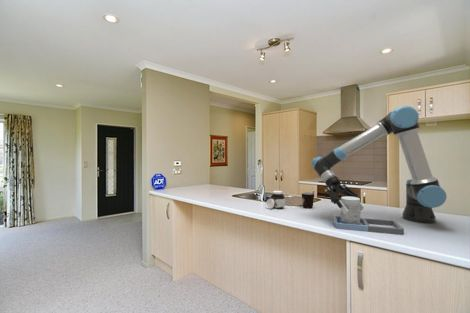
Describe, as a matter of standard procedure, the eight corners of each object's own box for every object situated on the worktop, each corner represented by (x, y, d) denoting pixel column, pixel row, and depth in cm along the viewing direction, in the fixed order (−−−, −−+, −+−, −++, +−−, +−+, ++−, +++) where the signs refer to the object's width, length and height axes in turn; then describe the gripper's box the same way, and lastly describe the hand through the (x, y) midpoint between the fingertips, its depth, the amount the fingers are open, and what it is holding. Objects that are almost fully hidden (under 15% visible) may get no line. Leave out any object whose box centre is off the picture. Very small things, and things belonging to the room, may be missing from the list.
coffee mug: (314, 209, 164) (315, 194, 164) (301, 208, 166) (301, 194, 165) (312, 205, 175) (312, 191, 175) (300, 205, 177) (300, 191, 177)
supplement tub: (344, 221, 134) (344, 195, 134) (362, 225, 128) (362, 197, 127) (337, 225, 127) (337, 198, 127) (357, 229, 121) (357, 200, 120)
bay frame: (395, 225, 127) (395, 220, 127) (404, 234, 112) (404, 229, 112) (333, 219, 138) (333, 215, 138) (334, 228, 123) (334, 223, 123)
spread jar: (286, 207, 169) (286, 191, 169) (280, 211, 159) (280, 193, 159) (270, 205, 175) (270, 189, 175) (264, 208, 166) (264, 192, 165)
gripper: (340, 182, 147) (363, 211, 134) (311, 185, 134) (334, 218, 121) (348, 174, 142) (373, 204, 129) (319, 176, 129) (343, 209, 117)
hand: (354, 210), depth 125 cm, fingers open, 13 cm apart
